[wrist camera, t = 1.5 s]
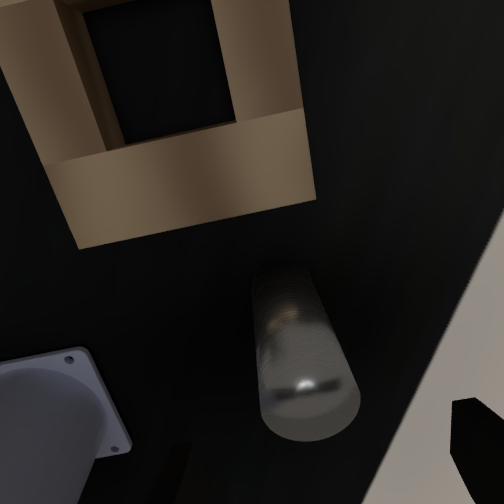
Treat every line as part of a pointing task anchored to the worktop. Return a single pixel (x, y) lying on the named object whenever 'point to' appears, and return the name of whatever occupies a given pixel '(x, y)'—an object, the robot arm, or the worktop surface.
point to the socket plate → (162, 148)
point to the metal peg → (299, 357)
